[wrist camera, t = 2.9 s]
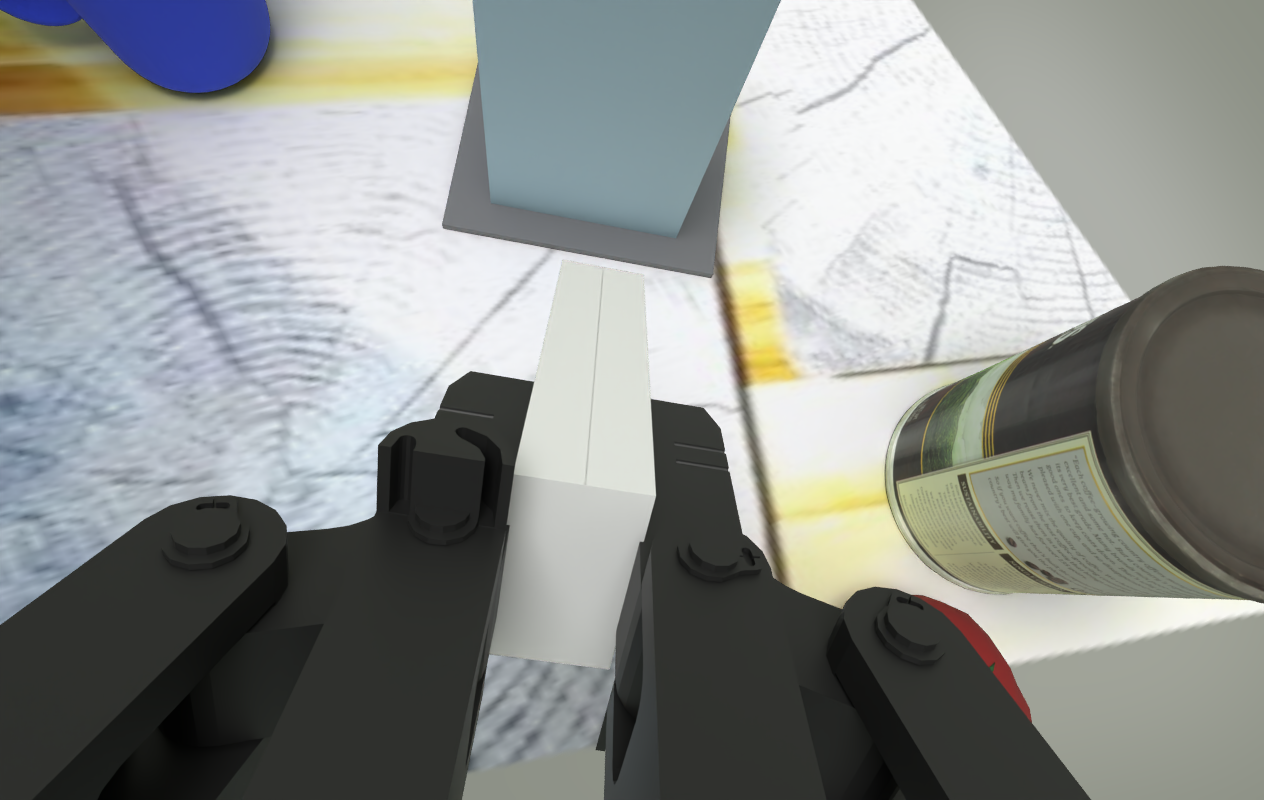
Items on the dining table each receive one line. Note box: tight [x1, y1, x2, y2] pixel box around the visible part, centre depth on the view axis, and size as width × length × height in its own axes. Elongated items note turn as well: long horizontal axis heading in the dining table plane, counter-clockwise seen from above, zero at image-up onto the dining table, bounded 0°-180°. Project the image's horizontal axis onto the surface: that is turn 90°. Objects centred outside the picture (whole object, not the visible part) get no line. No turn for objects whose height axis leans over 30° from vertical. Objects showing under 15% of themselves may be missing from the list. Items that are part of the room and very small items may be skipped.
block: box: [473, 0, 781, 238], centre depth 28 cm, size 5×9×16 cm, turn 82°
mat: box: [442, 65, 730, 278], centre depth 38 cm, size 24×13×1 cm, turn 172°
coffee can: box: [885, 266, 1264, 603], centre depth 28 cm, size 10×10×14 cm
